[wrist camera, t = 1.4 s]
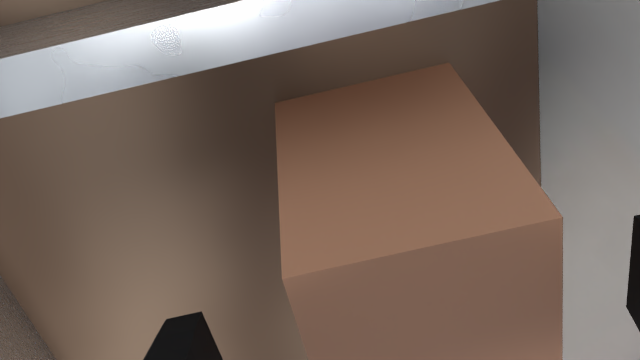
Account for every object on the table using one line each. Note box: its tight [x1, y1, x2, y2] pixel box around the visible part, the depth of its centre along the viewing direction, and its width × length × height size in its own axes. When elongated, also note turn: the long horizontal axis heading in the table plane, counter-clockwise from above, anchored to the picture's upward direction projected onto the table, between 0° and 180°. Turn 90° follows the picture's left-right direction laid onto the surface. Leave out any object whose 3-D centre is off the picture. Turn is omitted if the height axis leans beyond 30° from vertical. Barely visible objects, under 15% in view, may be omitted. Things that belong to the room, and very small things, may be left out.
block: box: [275, 63, 563, 360], centre depth 12 cm, size 4×4×6 cm
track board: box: [0, 0, 541, 360], centre depth 18 cm, size 16×26×1 cm, turn 12°
